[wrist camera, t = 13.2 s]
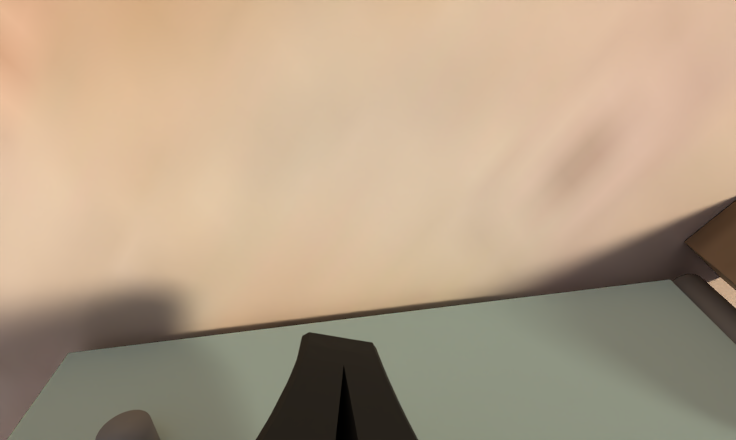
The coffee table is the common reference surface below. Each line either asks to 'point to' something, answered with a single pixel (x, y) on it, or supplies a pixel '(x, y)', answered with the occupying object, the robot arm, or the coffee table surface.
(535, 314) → the door
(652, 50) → the coffee table surface
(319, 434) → the robot arm
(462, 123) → the coffee table surface
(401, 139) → the coffee table surface
